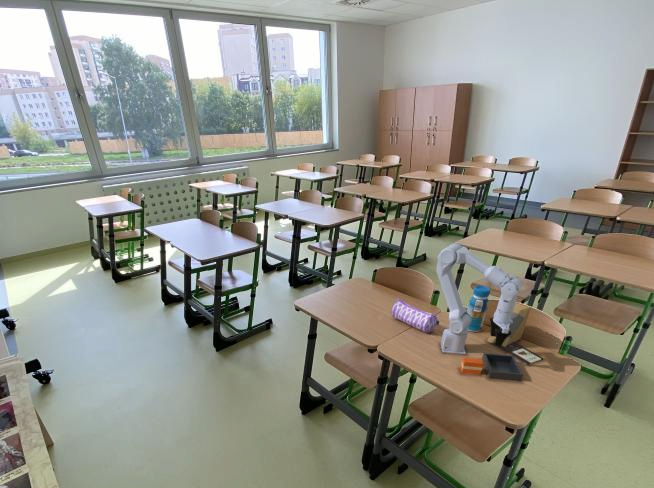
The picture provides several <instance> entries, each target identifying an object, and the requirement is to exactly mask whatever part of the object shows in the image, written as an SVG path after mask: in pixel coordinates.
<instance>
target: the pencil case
mask: <svg viewBox="0 0 654 488" xmlns="http://www.w3.org/2000/svg"><path fill="white" fill-rule="evenodd" d="M391 316H392V317H393V318H395V319H396V320H399V321H401V322H402V323H404V324H406V325H408V326H410V327H412V328H414V329H417V330H418V331H421V332H423V333H426V334H428V333H430V332H433V330H434V329H435V328H436V326H439V324H440V320H438V317H437V314H434V313H432V312H428V311H424V310H421V309H419V308H416V307H414V306H411V305H410V304H407V303H406V302H405V301H403V300H402V299H401V298H400V297H399V298H396V301H395V302H394V303H393V305H392V308H391Z"/></svg>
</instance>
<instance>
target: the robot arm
mask: <svg viewBox="0 0 654 488" xmlns="http://www.w3.org/2000/svg"><path fill="white" fill-rule="evenodd" d="M460 264H465V265H467V266H469V267H471V268H472V269H474V270H476V271H478V272H479V273H481V274H483V278H484V280H485V281H487V282H489V283H490V284H492V285H493V286H495V287H496V288H498V289H500V292H501V294H500V296H499V299H498V302H497V306H496V310H495V311H494V314H493V317H490V318H489V322H490V335H491V336H494V337H496V339H495V345H494V346H495V347H497V346H501V345H502V344H503V342H504V341H505V339H506V338H507V337H508V336H509V335H511V331H509V325H510V323H513V321H512V320H510V319H511V316H512V313H513V310H514V307H515V303H517V298H518V296H519V291H520V290H522V286H523V282H522V280H521V279H520V278H519V276H516V275H515V276H513V275H512V274H508V273H507V272H506V271H504V270H503V268H502V267H501V266H499V265H498V266H496V265H489V264H488V263H486V262H485V261H484V260H482V259H481V258H480V257H478V256H477V255H476V254H474V253H473V252H471V251H470V250H469V249H468V248H467V247H466V246H463V245H462V244H460V243H459V242H453V243H451V244H450V245H448V246H447V247H445V248H443V249H442V250H441V251H440V252H439V254H438V255H437V263H436V269H435V271H436V275H437V278H438V281H439V284H440V286H441V290H442V292H443V296H444V299H445V302H446V304H447V307H448V310H449V314H448V321H449V326H448V327H449V328H444V329H443V332H442V336H441V340H440V347H441V351H442V353H445V354H446V353H449V354H450V353H451V354H462V355H466V354H467V352H466V349H465V346H466V342H467V338H468V333H469V331H468V326H469V325H470V324H471V322H472V317H471V316H470V314H469V313H468V312H467V309H468V308H466V307H464V305H463V303H462V300H461V296H460V293H459V290H458V287H457V285H456V281H455V279H454V275H453V272H452V269H453V267H454V266H455V265H460ZM500 328H501V329H500Z"/></svg>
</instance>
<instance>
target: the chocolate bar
mask: <svg viewBox="0 0 654 488" xmlns="http://www.w3.org/2000/svg"><path fill="white" fill-rule="evenodd" d="M492 345H493V346H495V342H494V343H493V344H492ZM496 347H497V348H499V349H501V350H502V351H505V352H506V353H508V355H511V356H514V358H515V359H518V360H519V361H521V362H523V363H524V364H526V365H531V364H533V363H537V362H538V361H542V360H544V357H542V356H540V355H539V354H537V353H535V352H534V351H532V350H530V349H528V348H526V347H524V346H522V345H520V344H519V343H518V342H512V343H511V344H509V345H507V346H505V347H504V346H502V345H501V346H496Z"/></svg>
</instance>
